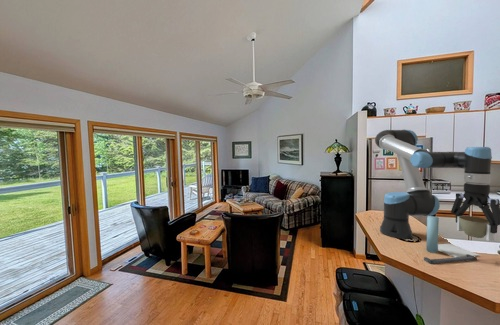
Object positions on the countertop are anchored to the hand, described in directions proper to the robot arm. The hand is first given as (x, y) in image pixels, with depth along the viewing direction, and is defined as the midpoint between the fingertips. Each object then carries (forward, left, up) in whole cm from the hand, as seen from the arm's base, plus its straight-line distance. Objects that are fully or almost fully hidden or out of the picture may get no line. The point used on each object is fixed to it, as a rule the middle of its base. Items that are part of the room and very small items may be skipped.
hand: (474, 235), depth 89 cm
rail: (0, -11, -11) cm, 15 cm away
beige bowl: (0, 0, -1) cm, 1 cm away
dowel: (-9, -10, -11) cm, 17 cm away
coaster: (-8, 0, -11) cm, 13 cm away
